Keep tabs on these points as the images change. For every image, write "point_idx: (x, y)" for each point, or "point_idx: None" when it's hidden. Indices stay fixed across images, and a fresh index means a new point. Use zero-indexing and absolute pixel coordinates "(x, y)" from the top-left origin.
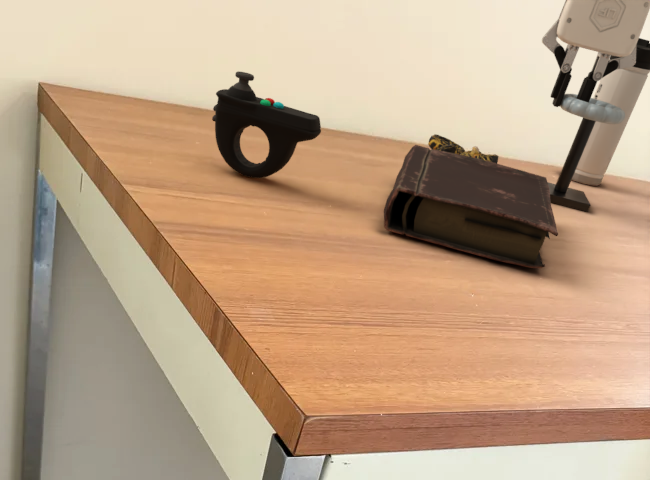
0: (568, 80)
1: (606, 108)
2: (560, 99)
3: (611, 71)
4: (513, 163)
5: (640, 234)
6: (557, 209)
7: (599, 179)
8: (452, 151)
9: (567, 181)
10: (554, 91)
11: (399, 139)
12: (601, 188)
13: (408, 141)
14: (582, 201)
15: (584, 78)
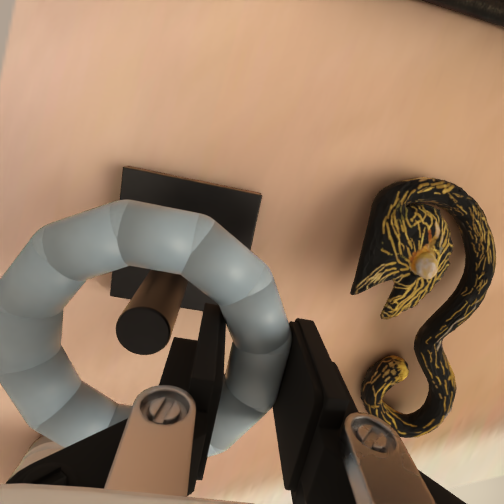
0: (321, 377)
1: (112, 228)
2: (305, 328)
3: (62, 455)
4: (219, 468)
5: (9, 44)
6: (215, 129)
7: (33, 446)
8: (435, 320)
9: None
10: (336, 369)
11: (459, 449)
12: (30, 429)
13: (441, 450)
14: (141, 185)
15: (202, 474)
